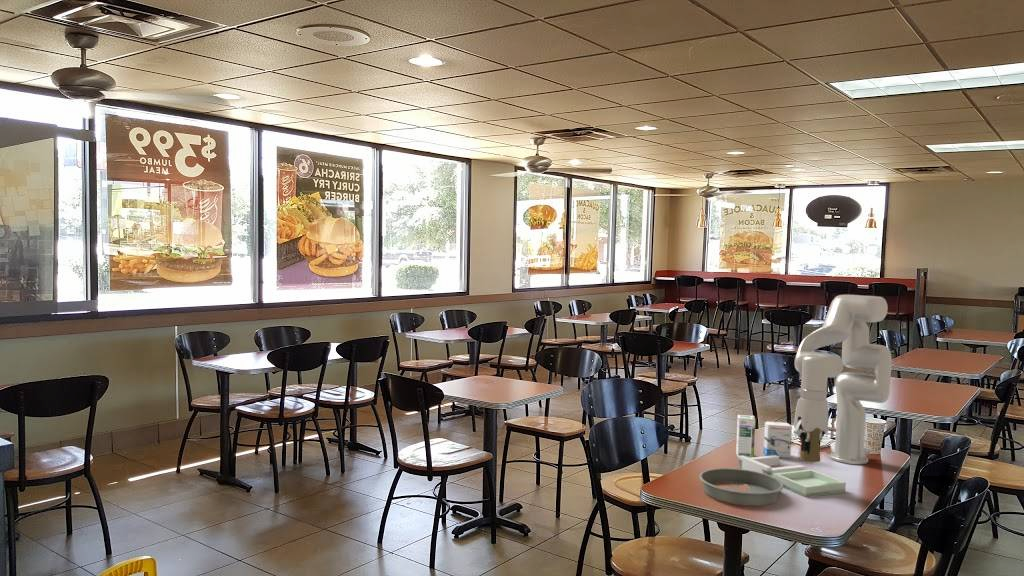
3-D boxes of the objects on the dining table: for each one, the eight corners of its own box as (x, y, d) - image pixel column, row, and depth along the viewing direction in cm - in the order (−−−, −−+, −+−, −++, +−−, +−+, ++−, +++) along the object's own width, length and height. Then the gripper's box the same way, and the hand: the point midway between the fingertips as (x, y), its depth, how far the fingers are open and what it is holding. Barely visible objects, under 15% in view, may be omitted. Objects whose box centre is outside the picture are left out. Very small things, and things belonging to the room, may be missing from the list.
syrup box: (737, 457, 263) (739, 417, 262) (735, 452, 268) (737, 413, 268) (753, 458, 261) (755, 418, 261) (752, 454, 267) (754, 415, 266)
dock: (774, 463, 256) (775, 452, 256) (804, 475, 243) (805, 463, 243) (737, 467, 250) (738, 455, 250) (766, 479, 237) (766, 467, 237)
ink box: (766, 456, 265) (767, 424, 264) (762, 452, 270) (764, 421, 269) (790, 458, 264) (792, 426, 263) (787, 454, 269) (788, 422, 268)
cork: (811, 462, 226) (813, 427, 226) (795, 457, 232) (797, 423, 231) (824, 460, 229) (826, 426, 229) (808, 455, 235) (810, 421, 234)
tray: (811, 478, 241) (811, 469, 240) (845, 491, 228) (845, 482, 227) (772, 482, 235) (773, 473, 234) (805, 497, 222) (805, 487, 221)
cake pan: (801, 501, 218) (802, 486, 218) (738, 512, 207) (739, 497, 207) (741, 477, 240) (742, 464, 240) (682, 486, 229) (682, 472, 229)
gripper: (824, 391, 236) (821, 447, 237) (784, 393, 230) (781, 451, 231) (842, 396, 229) (839, 454, 230) (801, 398, 223) (798, 458, 224)
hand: (810, 452), depth 230 cm, fingers closed on cork, 3 cm apart
